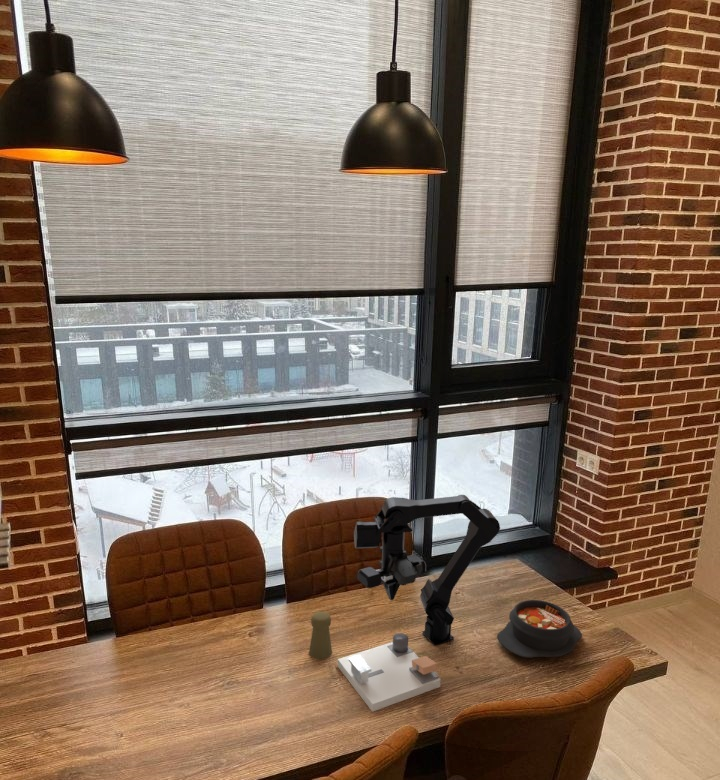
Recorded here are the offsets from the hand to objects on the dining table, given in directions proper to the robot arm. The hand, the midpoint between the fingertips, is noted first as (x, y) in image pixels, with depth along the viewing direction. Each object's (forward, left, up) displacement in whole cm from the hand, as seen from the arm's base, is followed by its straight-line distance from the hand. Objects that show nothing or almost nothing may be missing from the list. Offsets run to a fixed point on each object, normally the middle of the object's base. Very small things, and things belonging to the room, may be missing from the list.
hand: (391, 599), depth 166 cm
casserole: (-37, +19, -12) cm, 43 cm away
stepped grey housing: (+16, +13, -10) cm, 23 cm away
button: (+1, +7, -10) cm, 12 cm away
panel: (+8, +13, -12) cm, 20 cm away
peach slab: (+1, +18, -7) cm, 20 cm away
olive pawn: (+19, -3, -12) cm, 23 cm away
